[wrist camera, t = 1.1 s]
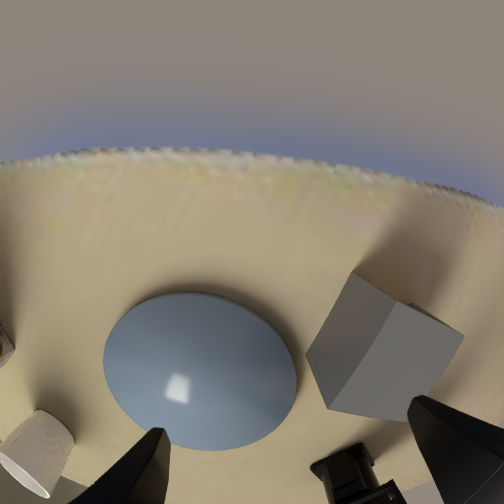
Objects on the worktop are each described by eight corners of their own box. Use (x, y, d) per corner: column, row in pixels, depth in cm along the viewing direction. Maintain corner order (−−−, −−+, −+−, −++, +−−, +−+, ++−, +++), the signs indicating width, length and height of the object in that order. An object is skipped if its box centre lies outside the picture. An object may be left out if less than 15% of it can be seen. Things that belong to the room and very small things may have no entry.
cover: (373, 376, 21) (406, 422, 14) (305, 354, 20) (327, 408, 14) (416, 305, 20) (464, 336, 13) (351, 271, 19) (396, 301, 13)
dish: (323, 403, 21) (326, 411, 20) (181, 455, 22) (179, 463, 21) (229, 250, 19) (228, 253, 18) (77, 340, 20) (71, 346, 19)
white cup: (36, 396, 21) (-7, 442, 11) (86, 438, 22) (54, 494, 12) (27, 418, 22) (-6, 459, 12) (71, 455, 23) (44, 501, 13)
